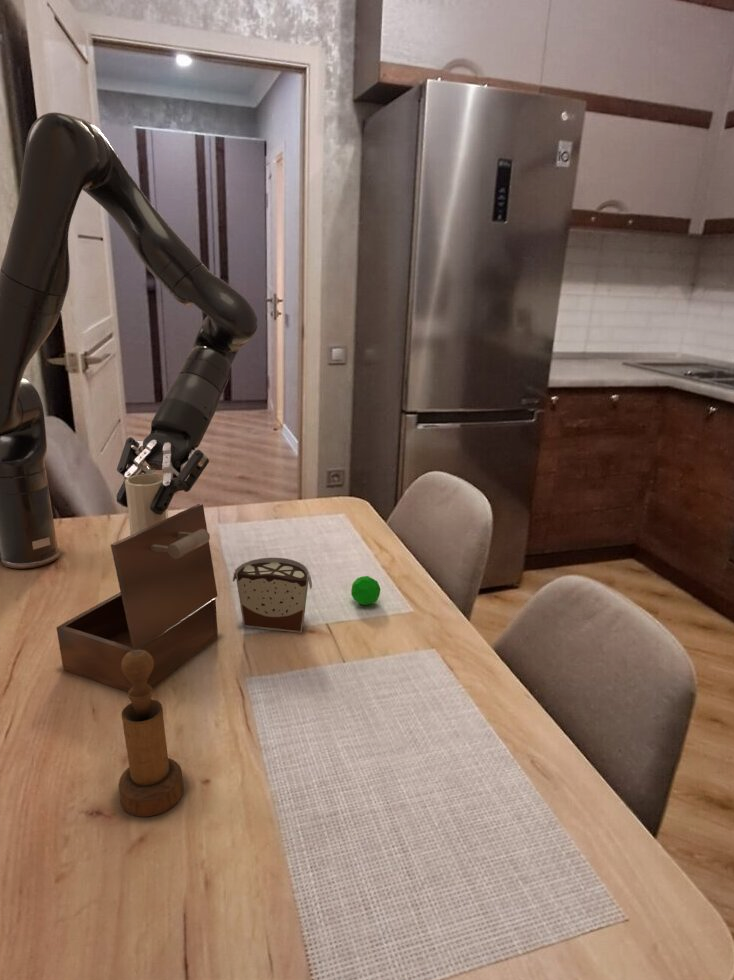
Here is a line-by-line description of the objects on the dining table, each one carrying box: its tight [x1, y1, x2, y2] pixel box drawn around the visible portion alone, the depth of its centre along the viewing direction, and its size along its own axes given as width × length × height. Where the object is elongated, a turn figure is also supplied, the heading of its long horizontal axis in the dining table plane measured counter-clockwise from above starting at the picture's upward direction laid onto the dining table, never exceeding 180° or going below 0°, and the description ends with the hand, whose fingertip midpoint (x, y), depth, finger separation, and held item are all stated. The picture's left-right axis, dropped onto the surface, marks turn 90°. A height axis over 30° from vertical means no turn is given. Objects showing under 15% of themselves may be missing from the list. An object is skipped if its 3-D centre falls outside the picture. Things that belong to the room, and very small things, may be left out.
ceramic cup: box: [124, 473, 169, 535], centre depth 98 cm, size 5×5×10 cm
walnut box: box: [56, 591, 219, 693], centre depth 96 cm, size 14×17×7 cm
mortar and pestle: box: [118, 650, 185, 817], centre depth 69 cm, size 7×6×18 cm
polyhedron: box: [350, 575, 381, 606], centre depth 114 cm, size 5×5×5 cm
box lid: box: [110, 503, 218, 650], centre depth 89 cm, size 14×17×6 cm
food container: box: [232, 557, 313, 634], centre depth 106 cm, size 12×6×10 cm, turn 84°
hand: (138, 507), depth 96 cm, fingers closed on ceramic cup, 5 cm apart
